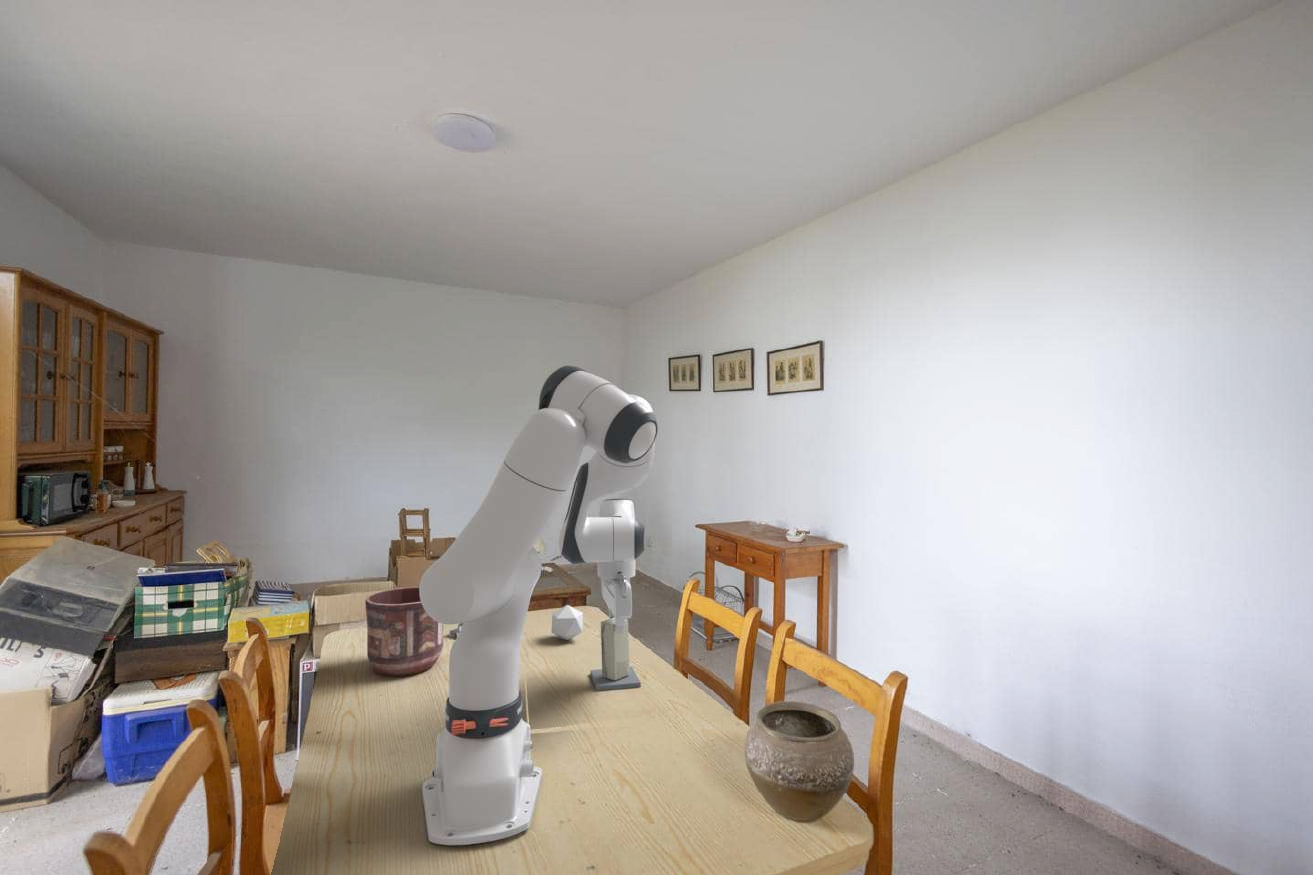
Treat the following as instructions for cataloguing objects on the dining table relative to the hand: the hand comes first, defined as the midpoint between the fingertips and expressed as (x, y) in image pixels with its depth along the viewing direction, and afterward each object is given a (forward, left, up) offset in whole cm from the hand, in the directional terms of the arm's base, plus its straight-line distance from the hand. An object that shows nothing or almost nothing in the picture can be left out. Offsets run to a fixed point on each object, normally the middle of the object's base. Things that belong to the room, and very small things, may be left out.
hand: (616, 627), depth 141 cm
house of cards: (+39, +39, -13) cm, 57 cm away
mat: (0, 0, -12) cm, 12 cm away
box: (0, 0, -11) cm, 11 cm away
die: (+31, +8, -12) cm, 34 cm away
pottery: (+18, +48, -12) cm, 53 cm away
